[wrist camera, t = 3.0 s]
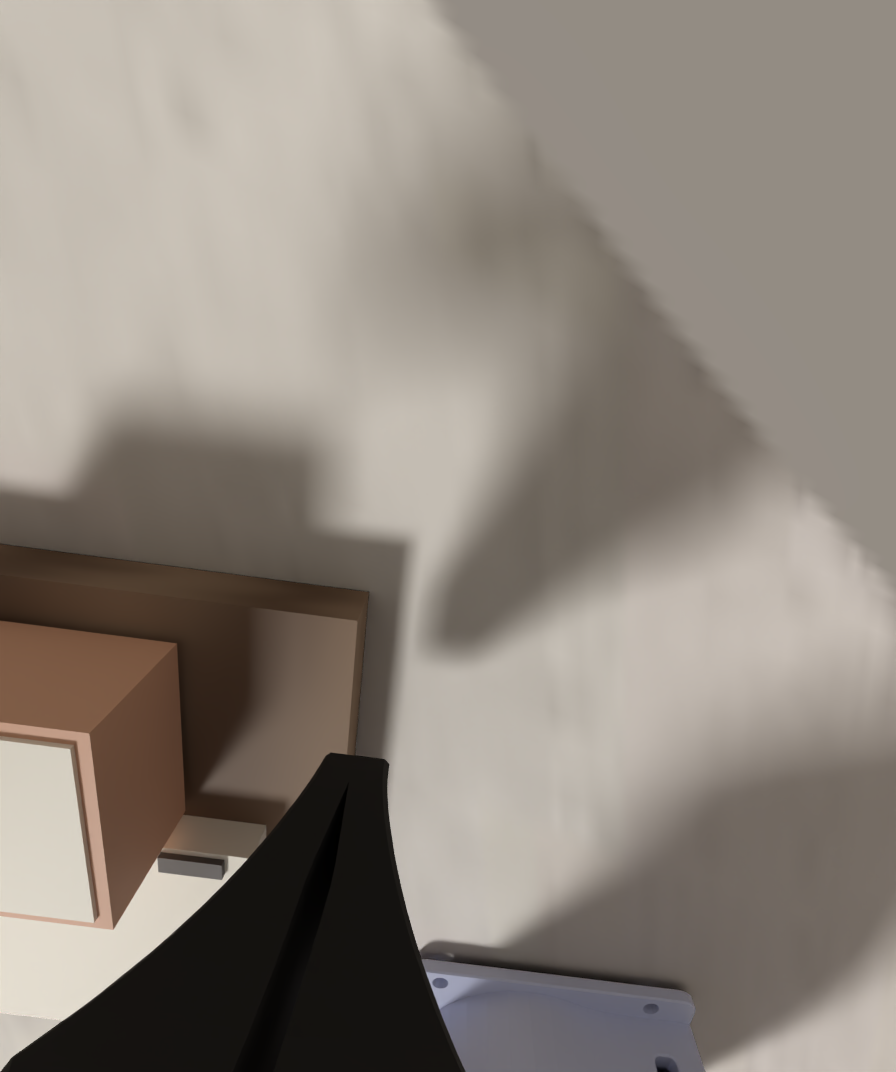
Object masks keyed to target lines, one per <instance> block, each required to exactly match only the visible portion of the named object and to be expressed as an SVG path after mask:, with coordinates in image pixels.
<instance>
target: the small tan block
mask: <svg viewBox="0 0 896 1072" xmlns="http://www.w3.org/2000/svg"><path fill="white" fill-rule="evenodd" d="M185 811H186V810H185V791H184V771H183V752H182V732H181V712H180V693H179V673H178V654H177V643H170V642H162V641H155V640H147V639H139V638H131V637H124V636H116V635H108V634H100V633H92V632H85V631H77V630H69V629H61V628H54V627H46V626H38V625H30V624H22V623H15V622H7V621H0V916H4V917H12V918H20V919H28V920H36V921H45V922H53V923H61V924H69V925H77V926H85V927H94V928H102V929H110V930H114V928H115V927H116V925H117V923H118V922H119V920H120V918H121V917H122V915H123V913H124V912H125V910H126V908H127V907H128V905H129V903H130V902H131V900H132V898H133V897H134V895H135V893H136V892H137V890H138V889H139V887H140V885H141V884H142V882H143V880H144V879H145V877H146V875H147V874H148V872H149V870H150V869H151V867H152V865H153V864H154V862H155V860H156V859H157V857H158V855H159V854H160V852H161V850H162V849H163V847H164V846H165V844H166V842H167V841H168V839H169V837H170V836H171V834H172V832H173V831H174V829H175V827H176V826H177V824H178V822H179V821H180V819H181V817H182V816H183V814H184V812H185Z"/></svg>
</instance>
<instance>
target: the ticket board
mask: <svg viewBox="0 0 896 1072" xmlns="http://www.w3.org/2000/svg"><path fill="white" fill-rule="evenodd" d="M368 598H369V592H364V591H356V590H348V589H341V588H333V587H325V586H318V585H310V584H302V583H295V582H287V581H279V580H272V579H264V578H256V577H249V576H241V575H233V574H225V573H218V572H210V571H202V570H195V569H187V568H179V567H172V566H164V565H156V564H149V563H141V562H133V561H125V560H118V559H110V558H102V557H95V556H87V555H79V554H72V553H64V552H56V551H49V550H41V549H33V548H26V547H18V546H10V545H2V544H0V621H7V622H15V623H22V624H30V625H38V626H46V627H54V628H61V629H69V630H77V631H85V632H92V633H100V634H108V635H116V636H124V637H131V638H139V639H147V640H155V641H162V642H170V643H177V654H178V673H179V693H180V712H181V732H182V752H183V771H184V791H185V810H186V811H185V812H184V814H183V816H182V817H181V819H180V821H179V822H178V824H177V826H176V827H175V829H174V831H173V832H172V834H171V836H170V837H169V839H168V841H167V842H166V844H165V846H164V847H163V849H162V850H161V852H160V854H159V855H158V857H157V859H156V860H155V862H154V864H153V865H152V867H151V869H150V870H149V872H148V874H147V875H146V877H145V879H144V880H143V882H142V884H141V885H140V887H139V889H138V890H137V892H136V893H135V895H134V897H133V898H132V900H131V902H130V903H129V905H128V907H127V908H126V910H125V912H124V913H123V915H122V917H121V918H120V920H119V922H118V923H117V925H116V927H115V928H114V930H110V929H102V928H94V927H85V926H77V925H69V924H61V923H53V922H45V921H36V920H28V919H20V918H12V917H4V916H0V1013H5V1014H13V1015H21V1016H29V1017H38V1018H46V1019H54V1020H65V1019H66V1018H67V1017H69V1016H70V1015H72V1014H73V1013H74V1012H76V1011H77V1010H79V1009H80V1008H81V1007H83V1006H84V1005H85V1004H87V1003H88V1002H89V1001H91V1000H92V999H93V998H95V997H96V996H97V995H99V994H100V993H101V992H102V991H104V990H105V989H106V988H107V987H109V986H110V985H111V984H112V983H113V982H115V981H116V980H117V979H118V978H120V977H121V976H122V975H123V974H125V973H126V972H127V971H128V970H130V969H131V968H132V967H133V966H134V965H136V964H137V963H138V962H139V961H141V960H142V959H143V958H144V957H146V956H147V955H148V954H149V953H150V952H152V951H153V950H154V949H155V948H156V947H157V946H159V945H160V944H161V943H162V942H163V941H164V940H165V939H167V938H168V937H169V936H170V935H171V934H172V933H173V932H174V931H175V930H177V929H178V928H179V927H180V926H181V925H182V924H183V923H184V922H185V921H186V920H187V919H189V918H190V917H191V916H192V915H193V914H194V913H195V912H196V911H197V910H198V909H199V908H200V907H201V906H202V905H204V904H205V903H206V902H207V901H208V900H209V899H210V898H211V897H212V896H213V895H214V894H215V893H216V892H217V891H218V890H219V889H220V888H221V887H222V886H223V885H224V884H225V883H226V882H227V880H228V879H229V878H230V877H231V876H232V875H233V874H234V873H235V872H236V871H237V870H238V869H239V868H240V867H241V866H242V865H243V863H244V862H245V861H246V860H247V859H248V858H249V857H250V855H251V854H252V853H253V852H254V851H255V850H256V849H257V847H258V846H259V845H260V844H261V843H262V842H263V841H264V839H265V838H266V837H267V836H268V835H269V834H270V832H271V831H272V830H273V829H274V828H275V826H276V825H277V824H278V823H279V821H280V820H281V819H282V817H283V816H284V815H285V814H286V812H287V811H288V810H289V808H290V807H291V806H292V805H293V803H294V802H295V801H296V799H297V798H298V797H299V795H300V794H301V793H302V791H303V790H304V788H305V787H306V786H307V784H308V783H309V781H310V780H311V778H312V777H313V775H314V774H315V772H316V771H317V769H318V768H319V766H320V764H321V763H322V761H323V759H324V758H325V756H326V755H328V754H329V753H331V752H332V753H339V754H347V755H355V750H356V738H357V727H358V715H359V703H360V691H361V680H362V668H363V656H364V644H365V633H366V621H367V609H368Z"/></svg>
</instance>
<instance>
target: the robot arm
mask: <svg viewBox="0 0 896 1072" xmlns="http://www.w3.org/2000/svg"><path fill="white" fill-rule="evenodd" d="M388 770H389V764H388V762H387V761H386V760H385V759H378V758H371V757H363V756H355V755H347V754H339V753H332V752H331V753H329V754H328V755H326V756H325V758H324V759H323V761H322V763H321V764H320V766H319V768H318V769H317V771H316V772H315V774H314V775H313V777H312V778H311V780H310V781H309V783H308V784H307V786H306V787H305V788H304V790H303V791H302V793H301V794H300V795H299V797H298V798H297V799H296V801H295V802H294V803H293V805H292V806H291V807H290V808H289V810H288V811H287V812H286V814H285V815H284V816H283V817H282V819H281V820H280V821H279V823H278V824H277V825H276V826H275V828H274V829H273V830H272V831H271V832H270V834H269V835H268V836H267V837H266V838H265V839H264V841H263V842H262V843H261V844H260V845H259V846H258V847H257V849H256V850H255V851H254V852H253V853H252V854H251V855H250V857H249V858H248V859H247V860H246V861H245V862H244V863H243V865H242V866H241V867H240V868H239V869H238V870H237V871H236V872H235V873H234V874H233V875H232V876H231V877H230V878H229V879H228V880H227V882H226V883H225V884H224V885H223V886H222V887H221V888H220V889H219V890H218V891H217V892H216V893H215V894H214V895H213V896H212V897H211V898H210V899H209V900H208V901H207V902H206V903H205V904H204V905H202V906H201V907H200V908H199V909H198V910H197V911H196V912H195V913H194V914H193V915H192V916H191V917H190V918H189V919H187V920H186V921H185V922H184V923H183V924H182V925H181V926H180V927H179V928H178V929H177V930H175V931H174V932H173V933H172V934H171V935H170V936H169V937H168V938H167V939H165V940H164V941H163V942H162V943H161V944H160V945H159V946H157V947H156V948H155V949H154V950H153V951H152V952H150V953H149V954H148V955H147V956H146V957H144V958H143V959H142V960H141V961H139V962H138V963H137V964H136V965H134V966H133V967H132V968H131V969H130V970H128V971H127V972H126V973H125V974H123V975H122V976H121V977H120V978H118V979H117V980H116V981H115V982H113V983H112V984H111V985H110V986H109V987H107V988H106V989H105V990H104V991H102V992H101V993H100V994H99V995H97V996H96V997H95V998H93V999H92V1000H91V1001H89V1002H88V1003H87V1004H85V1005H84V1006H83V1007H81V1008H80V1009H79V1010H77V1011H76V1012H74V1013H73V1014H72V1015H70V1016H69V1017H67V1018H66V1019H65V1020H63V1021H62V1022H61V1023H59V1024H58V1025H56V1026H55V1027H54V1028H52V1029H51V1030H49V1031H48V1032H47V1033H45V1034H44V1035H42V1036H41V1037H40V1038H38V1039H37V1040H36V1041H34V1042H33V1043H31V1044H30V1045H29V1046H27V1047H26V1048H24V1049H23V1050H22V1051H20V1052H19V1053H17V1054H16V1055H15V1056H13V1057H12V1058H11V1059H10V1061H9V1062H8V1063H7V1064H6V1066H5V1067H4V1068H3V1069H2V1071H1V1072H705V1069H704V1066H703V1063H702V1060H701V1057H700V1054H699V1051H698V1048H697V1045H696V1042H695V1039H694V1036H693V1032H692V1029H691V1026H690V1023H691V1021H692V1019H693V1016H694V1014H695V1010H696V1008H695V1006H694V1003H693V1000H692V997H691V995H690V994H688V993H687V992H685V991H682V990H676V989H668V988H659V987H651V986H643V985H635V984H627V983H619V982H611V981H602V980H594V979H586V978H578V977H570V976H562V975H554V974H546V973H537V972H529V971H521V970H513V969H505V968H497V967H489V966H480V965H472V964H464V963H456V962H448V961H440V960H432V959H421V956H420V953H419V950H418V947H417V944H416V940H415V937H414V934H413V930H412V927H411V923H410V920H409V916H408V913H407V909H406V905H405V901H404V897H403V893H402V889H401V884H400V879H399V875H398V870H397V865H396V860H395V855H394V849H393V842H392V836H391V829H390V822H389V812H388V798H387V779H388Z"/></svg>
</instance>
